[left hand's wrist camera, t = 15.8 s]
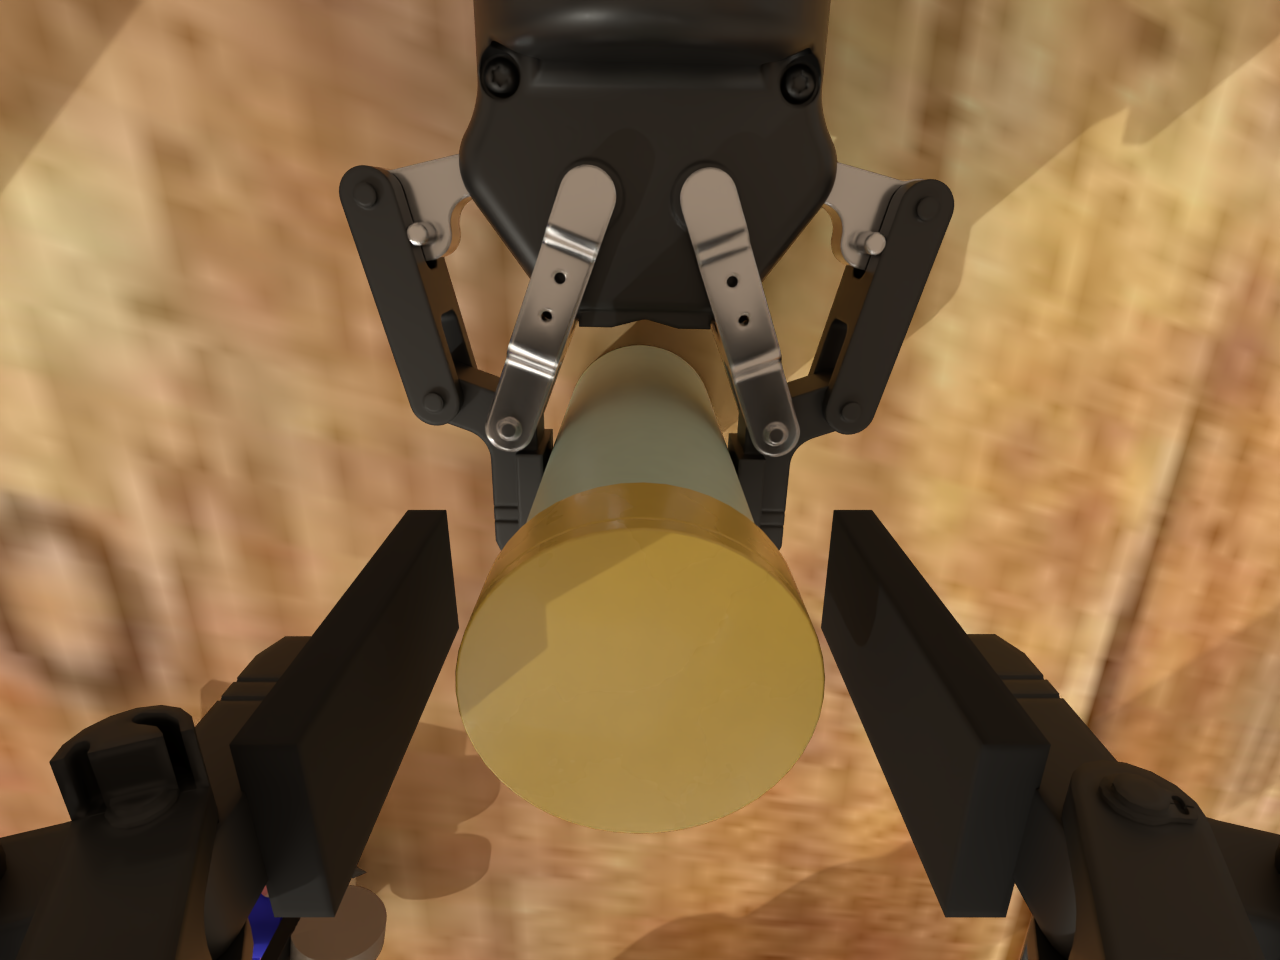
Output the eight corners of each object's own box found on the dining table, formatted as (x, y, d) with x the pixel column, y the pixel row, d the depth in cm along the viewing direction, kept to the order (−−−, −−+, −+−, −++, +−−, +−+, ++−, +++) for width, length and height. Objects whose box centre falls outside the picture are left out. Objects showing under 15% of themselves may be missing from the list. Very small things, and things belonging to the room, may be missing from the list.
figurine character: (411, 814, 33) (54, 799, 31) (373, 979, 26) (-91, 978, 24) (402, 914, 36) (71, 907, 33) (366, 1089, 29) (-57, 1099, 26)
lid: (795, 464, 11) (822, 508, 10) (804, 742, 13) (828, 820, 12) (450, 499, 11) (418, 549, 10) (510, 768, 13) (492, 847, 12)
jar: (672, 501, 26) (707, 826, 13) (548, 447, 25) (440, 729, 12) (735, 381, 25) (855, 604, 11) (604, 320, 24) (556, 475, 10)
